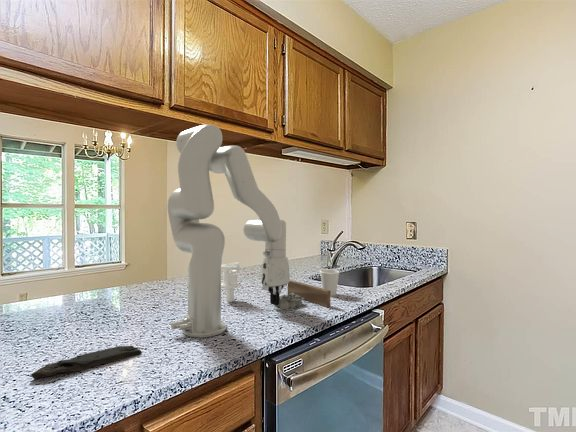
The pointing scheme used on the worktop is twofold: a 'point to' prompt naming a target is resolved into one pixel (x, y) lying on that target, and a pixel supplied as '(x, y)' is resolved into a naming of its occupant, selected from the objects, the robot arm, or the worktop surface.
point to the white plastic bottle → (230, 280)
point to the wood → (87, 361)
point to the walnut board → (310, 293)
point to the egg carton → (289, 301)
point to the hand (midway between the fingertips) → (274, 304)
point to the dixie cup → (330, 280)
